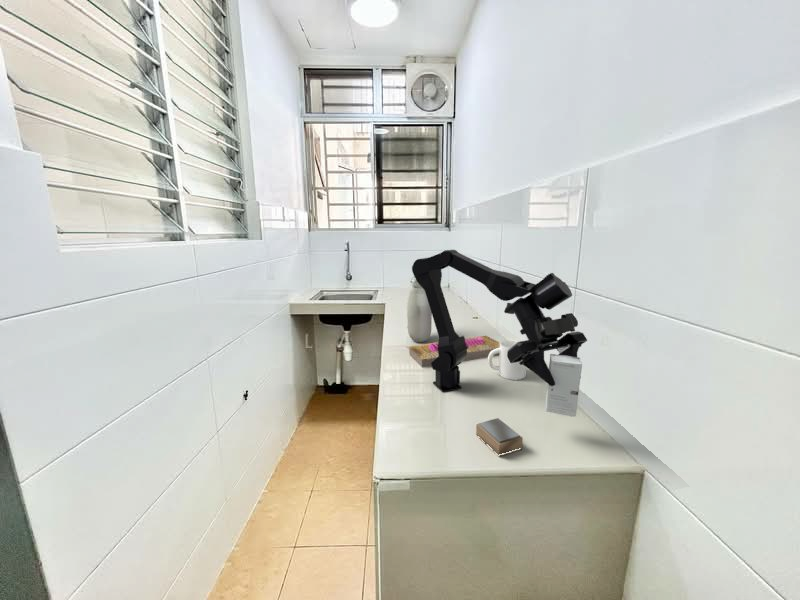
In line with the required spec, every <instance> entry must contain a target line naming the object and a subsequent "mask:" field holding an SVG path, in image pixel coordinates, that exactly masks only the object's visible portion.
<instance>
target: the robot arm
mask: <svg viewBox="0 0 800 600" xmlns="http://www.w3.org/2000/svg"><path fill="white" fill-rule="evenodd" d="M448 267H451V269H454V270H456V271H457V272H459V273H461V274H464V275H465V276H467V277H469V278H472V279H473V280H475V281H476V282H479V283H481V284H482V285H483V286H485V288H487V290H488V291H489V292H490V293H491V294H493V295H494V296H495V297H497V298H498V299H499V300H501V301H503V302H507V301H509V302H507V303H506V307H505V309H504V311H503V312H504V314H508V315H515V317H516V319H517V321H518V322H519V324H520V327H521V329H520V330H519V332H520V334H521V335H525V336H526V338H527V339H526V340H519V341H520V342H517V343H516V344H515V345H514V346H513V347H511V348H510V349H509V350H508V352H507V357H508V359H509V361H510V363H515V362H520V361H521V362H520V363H519V364H520V365H524V366H526V369H529V370H530V371H531V372H533V373H534V374H535V375H537V376H538V377H539V378H540V379H542V381H544V382H546V384H547V383H548V384H549V385H550V386H554V385H555V381H554V379H553V377H552V375H551V373H550V371H549V366H548V364H547V363H546V361H545V352H547V351H553V350H556V351H557V352H558V354H557V355H566V356H571V357H578V352H579V349H580V347H582V345H583V344H585V343H586V342H588V339H587V337H586V335H585V333H583V332H581V331H576V330H575V328H576V327H578V326H579V322H578V319H577V316H575V315H574V314H573V313H572V312H569V313H565V314H561V315H560V316H561V317H560V318H556V319H553V318H552V317H551V316H545V315H544V313H543V311H542V309H543V310H544V309H546V310H548V311H550V310H551V311H552V309H554V308H555V307H557V306H558V305H560V304H562V303H564V302H565V301H566V300H568V299H570V298H572V296H573V293H572V290H571V289H570V287H569V286H568V284H567V283H566V282H565V281H563V280H562V279H561V278H559V277H558V276H556V275H555V273H554V272H550V273H548V274H547V275H546V276H545V277H544V278H543V279H542V280H540V281H539V282H537V283H533V282H530V281H529V282H528V281H525V280H524V279H523V278H522V277H521V276H519V275H518V274H514V273H511V272H507V271H502V270H496V269H493V268H490V266H486V265H484V264H483V263H482V262H480V261H479V262H478V261H476V260H474V259H473V258H470V257H468V256H467V255H465V254H463V253H460V252H459V251H457V250H456V249H447V250H443V251H442V252H440V253H437V254H435V255H432V256H430V257H429V256H428V257H423V258H417V259H416V260H415V261H414V262H413V265H412V266H411V271H412V274H413V277H414V276H415V278H416V281H417V282H418V283H419V285H420V286H421V287H422V288H423V289H424V290H425V293H426V296H427V300H428V303H429V306H430V309H431V313H432V319H433V322H434V325H435V328H436V332H437V336H438V341H437V342H438V354H437V355H438V356H439V357H438V356H436V357H437V358H436V359H435V360H434V361H433V362H431V364H432V366H431V367H432V370H434V371H435V381H433V382H432V384H433V385H434V386H435V387H436V388H437V389H438V390H439V391H441V392H442V393H444V392H445V393H446V392H450V391H455V390H459V389H462V385H461V384H460V383H461V370H460V366H459V365H461V364H462V362H463V361H462V360H464V359H465V358H466V355H467V352H468V347H467V345H466V343H465V338H466V337H465V336H464V335H462V336H460V335H458V334H457V332H456V330H455V327H454V325H453V322H452V318H451V315H450V311H449V308H448V305H447V301H446V299H445V296H444V295H445V294H444V292H443V288H442V284H441V283H442V278H443V273H442V270H444V269H445V268H448ZM516 298H517V299H516ZM514 299H516V300H515V301H514V302H510V301H511V300H514ZM567 332H568V333H567ZM565 333H566V334H565ZM563 334H564V335H563ZM558 338H559V339H558ZM581 379H582V376H581V377H580V380H581Z"/></svg>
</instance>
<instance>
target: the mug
mask: <svg viewBox="0 0 800 600" xmlns="http://www.w3.org/2000/svg"><path fill="white" fill-rule="evenodd" d="M520 341H521V340H512V339H511V340H510V339H509V340H502V341H501V342H499V343H500V348H496V349H494V350H492V351H491V352H490V353H489V355H488V357H487V364H488V366H489V367H490V369H492V370H493V371H498V374H499V375H500V376H501V377H502V378H503V379H506V380H511V381H520V380H523V379H524V378H525V377H526V375H527V367H526V366H524V365H520V364H519V363H520V362H521V361H520V362H515V363H510V361H509V359H508V357H507V352H508V350H509V349H510V348H511V347H513V346H514V345H515V344H516V343H517V342H520ZM496 353H499V355H498V356H499V357H498V365H495V364H493V358H494V356H493V355H494V354H496Z"/></svg>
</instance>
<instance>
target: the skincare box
mask: <svg viewBox="0 0 800 600" xmlns="http://www.w3.org/2000/svg"><path fill="white" fill-rule="evenodd" d="M582 368H583V363H582V361H581V358H580V357H578V356H577V357H571V356H566V355H558V354H554V353H550V354H549V363H548V369H549V371H550V373H551V375H552V377H553V379H554V381H555V385H554V386H550V385H549V384H548V383H547V382H546V393H545V406H544V407H545V411H546V412H547V413H551V414H556V415H561V416H562V415H563V416H567V417H568V416H569V417H577V416H576V415H577V408H578V401H579V392H580V386H581V385H580V384H581V379H580V377H581V378H582Z"/></svg>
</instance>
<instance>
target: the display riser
mask: <svg viewBox="0 0 800 600" xmlns="http://www.w3.org/2000/svg"><path fill="white" fill-rule="evenodd" d="M475 427H476V429H475V430H476V431H475V433H476V434H475V435H477V436H479V437H480V438H481V439H482V440H483V441H484V442H485V443H486V444H488V445H489V446H490V447H491V448H492V449H493V450H494V451H495V452H496V453H497V454H498V455H499V454H502V453H506V452H509V451H512V450H515V449H519V448H522V449H523V440H524V439H523V436H521V435H520V434H519V433H517V432H516V430H514V429H513V428H511V427H510V426H509V425H508V424H506V423H505V422H504V421H503V420H501V419H500V418H499V417H496V418H494V419H489V420H486V421H482V422H478V423H476V426H475ZM477 436H476V437H477ZM480 438H479V439H480ZM481 439H480V440H481ZM482 440H481V441H482ZM483 441H482V442H483ZM484 442H483V443H484ZM485 443H484V444H485ZM486 444H485V445H486Z"/></svg>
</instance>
